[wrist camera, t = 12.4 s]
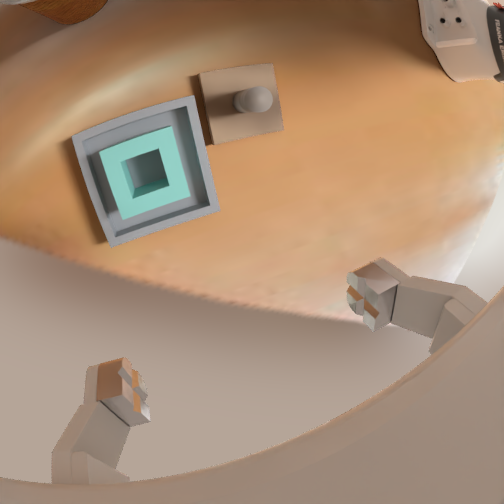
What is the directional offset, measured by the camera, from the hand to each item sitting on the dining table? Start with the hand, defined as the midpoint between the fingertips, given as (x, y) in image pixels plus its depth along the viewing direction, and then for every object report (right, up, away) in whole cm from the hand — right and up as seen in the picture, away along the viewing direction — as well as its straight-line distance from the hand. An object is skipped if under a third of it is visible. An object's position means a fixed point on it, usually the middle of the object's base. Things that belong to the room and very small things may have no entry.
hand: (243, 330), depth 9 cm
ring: (-9, +10, +14) cm, 20 cm away
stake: (-1, +17, +15) cm, 22 cm away
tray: (-9, +10, +15) cm, 20 cm away
